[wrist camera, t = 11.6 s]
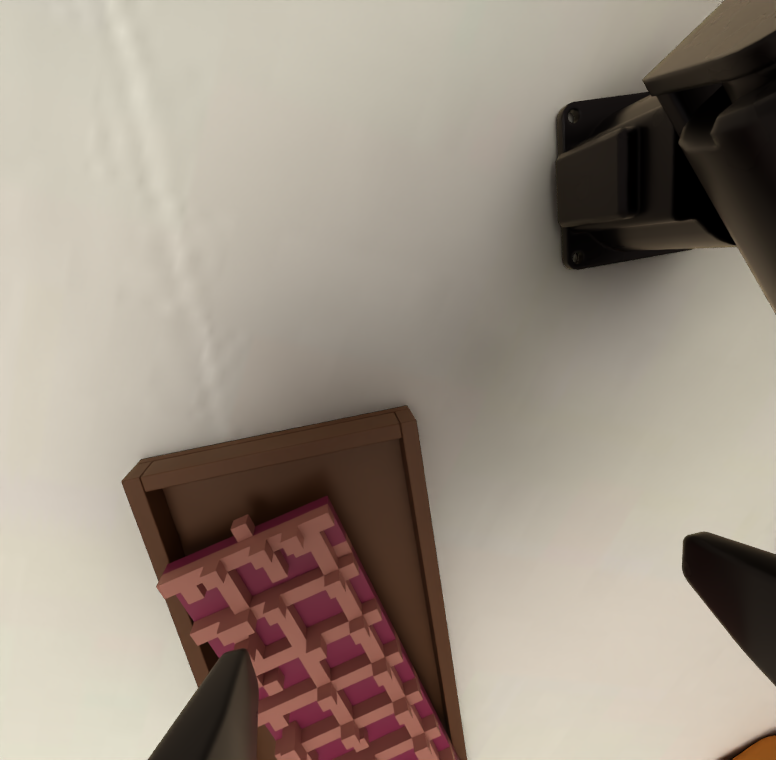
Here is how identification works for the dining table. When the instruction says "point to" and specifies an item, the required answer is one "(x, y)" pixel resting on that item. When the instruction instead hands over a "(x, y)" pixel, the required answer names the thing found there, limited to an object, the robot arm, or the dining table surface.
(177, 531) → the tray
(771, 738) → the coffee package
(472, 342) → the dining table surface
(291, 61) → the dining table surface
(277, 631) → the pink flat grid slab
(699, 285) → the dining table surface
